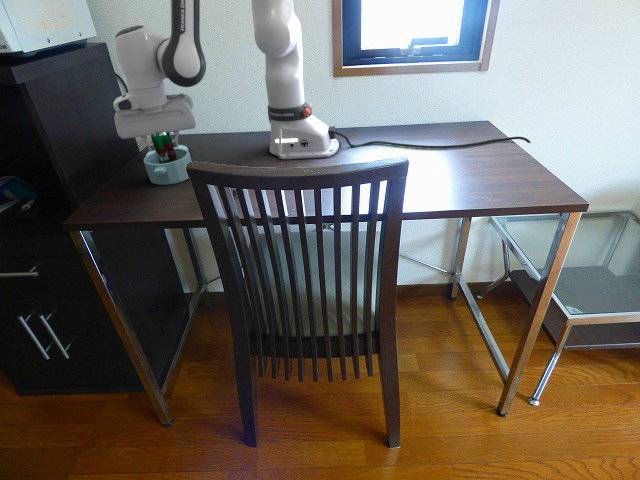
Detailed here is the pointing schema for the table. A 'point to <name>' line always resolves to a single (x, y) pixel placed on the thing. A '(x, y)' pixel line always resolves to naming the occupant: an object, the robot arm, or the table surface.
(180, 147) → the lid
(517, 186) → the table surface
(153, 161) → the pan
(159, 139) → the soda can
